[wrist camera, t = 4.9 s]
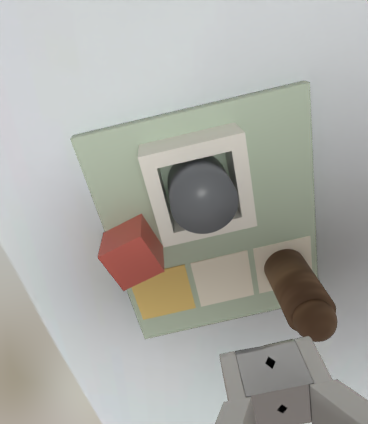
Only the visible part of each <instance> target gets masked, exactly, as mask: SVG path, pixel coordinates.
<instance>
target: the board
mask: <svg viewBox="0 0 368 424" xmlns="http://www.w3.org/2000/svg"><path fill="white" fill-rule="evenodd" d="M233 122H235V123H236V124H237V125H238V126H239V127H240V128H241V129H242V130H243V131H244V132H245V136H246V143H247V151H248V159H249V166H250V174H251V181H252V189H253V197H254V204H255V212H256V219H257V226H255V227H251V228H247V229H242V230H238V231H234V232H229V233H225V234H220V235H216V236H212V237H207V238H203V239H199V240H194V241H190V242H186V243H181V244H177V245H173V246H168V247H164V248H163V255H164V271H165V272H163V273H160V274H158V275H156V276H154V277H152V278H150V279H148V280H146V281H144V282H142V283H139V284H137V285H135V286H133V287H131V288H129V289H127V292H128V295H129V298H130V300H131V303H132V306H133V308H134V311H135V314H136V316H137V319H138V322H139V325H140V327H141V330H142V333H143V335H144V338H145V339H148V338H152V337H157V336H161V335H166V334H170V333H174V332H179V331H183V330H188V329H192V328H197V327H201V326H206V325H210V324H214V323H219V322H223V321H228V320H232V319H237V318H241V317H245V316H250V315H254V314H259V313H263V312H268V311H272V310H277V309H281V307H280V305H279V303H278V300H277V298H276V296H275V294H274V292H273V290H272V288H271V285H270V283H269V281H268V279H267V277H266V275H265V272H264V265H265V263H266V261H267V259H268V258H269V257H270V256H271V255H272V254H273V253H275V252H277V251H279V250H283V249H293V250H296V251H298V252H299V253H300V254H301V255H302V256H303V258H304V259H305V261H306V262H307V264H308V265H309V267H310V268H311V269H312V271H313V272H314V274H315V275H316V277H317V278H318V275H317V250H316V226H315V201H314V176H313V151H312V126H311V102H310V82H307V81H301V82H296V83H292V84H288V85H284V86H280V87H275V88H271V89H267V90H263V91H258V92H254V93H250V94H246V95H241V96H237V97H233V98H229V99H225V100H220V101H216V102H212V103H208V104H203V105H199V106H195V107H191V108H187V109H182V110H178V111H174V112H170V113H165V114H161V115H157V116H153V117H148V118H144V119H140V120H136V121H132V122H127V123H123V124H119V125H115V126H110V127H106V128H102V129H98V130H94V131H89V132H85V133H81V134H77V135H73V136H72V137H71V142H72V145H73V147H74V150H75V153H76V155H77V158H78V161H79V163H80V166H81V169H82V172H83V174H84V177H85V180H86V182H87V185H88V188H89V190H90V193H91V196H92V198H93V201H94V204H95V206H96V209H97V212H98V214H99V217H100V220H101V223H102V225H103V228H104V231H105V232H106V231H108V230H110V229H112V228H114V227H116V226H118V225H120V224H122V223H124V222H126V221H128V220H130V219H132V218H134V217H136V216H138V215H139V214H141V213H142V215H143V216H144V218H145V219H146V221H147V223H148V224H149V226H150V227H151V229H152V230H153V232H154V233H155V235H156V236H157V238H158V239H159V241H160V242H161V244H162V241H161V237H160V234H159V230H158V227H157V223H156V220H155V216H154V213H153V209H152V206H151V202H150V199H149V196H148V192H147V189H146V185H145V182H144V178H143V175H142V171H141V168H140V164H139V161H138V149H139V145H140V144H144V143H148V142H152V141H157V140H161V139H165V138H169V137H174V136H178V135H182V134H186V133H191V132H195V131H199V130H203V129H208V128H212V127H216V126H220V125H225V124H229V123H233ZM212 156H214V157H215V158H217V159H218V160H219V161H220V162H221V164H222V165H223V167H224V169H225V170H226V172H227V174H228V176H229V172H228V166H227V159H226V153H221V154H217V155H212ZM172 166H173V165H170V166H165V167H161V168H160V172H161V176H162V180H163V184H164V187H165V191H166V195H167V199H168V203H169V207H170V200H169V191H168V174H169V172H170V169H171V167H172ZM170 210H171V208H170ZM171 214H172V213H171ZM162 245H163V244H162Z"/></svg>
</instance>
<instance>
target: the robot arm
mask: <svg viewBox="0 0 368 424" xmlns="http://www.w3.org/2000/svg"><path fill="white" fill-rule="evenodd" d="M220 362H221V367H222V372H223V378H224V383H225V388H226V393H227V398H228V401H227V402H224V403H223V405H222V407H221V410H220V412H219V415H218V417H217V420H216V422H215V424H304V423H310V422H312V424H368V400H366V399H365V398H364V397H362V396H361V395H359V394H358V393H356V392H355V391H354V390H352V389H351V388H349V387H348V386H346V385H345V384H344V383H342V382H341V381H339V380H338V379H336V380H332V378H331V376H330V374H329V372H328V370H327V368H326V366H325V364H324V362H323V360H322V358H321V356H320V354H319V352H318V350H317V348H316V346H315V344H314V343H313V341H312V339H311V338H310V337H309V336H306V337H301V338H297V339H290V340H286V341H281V342H277V343H272V344H268V345H264V346H261V347H255V348H250V349H244V350H239V351H235V352H234V351H233V352H228V353H223V354H220Z"/></svg>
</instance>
